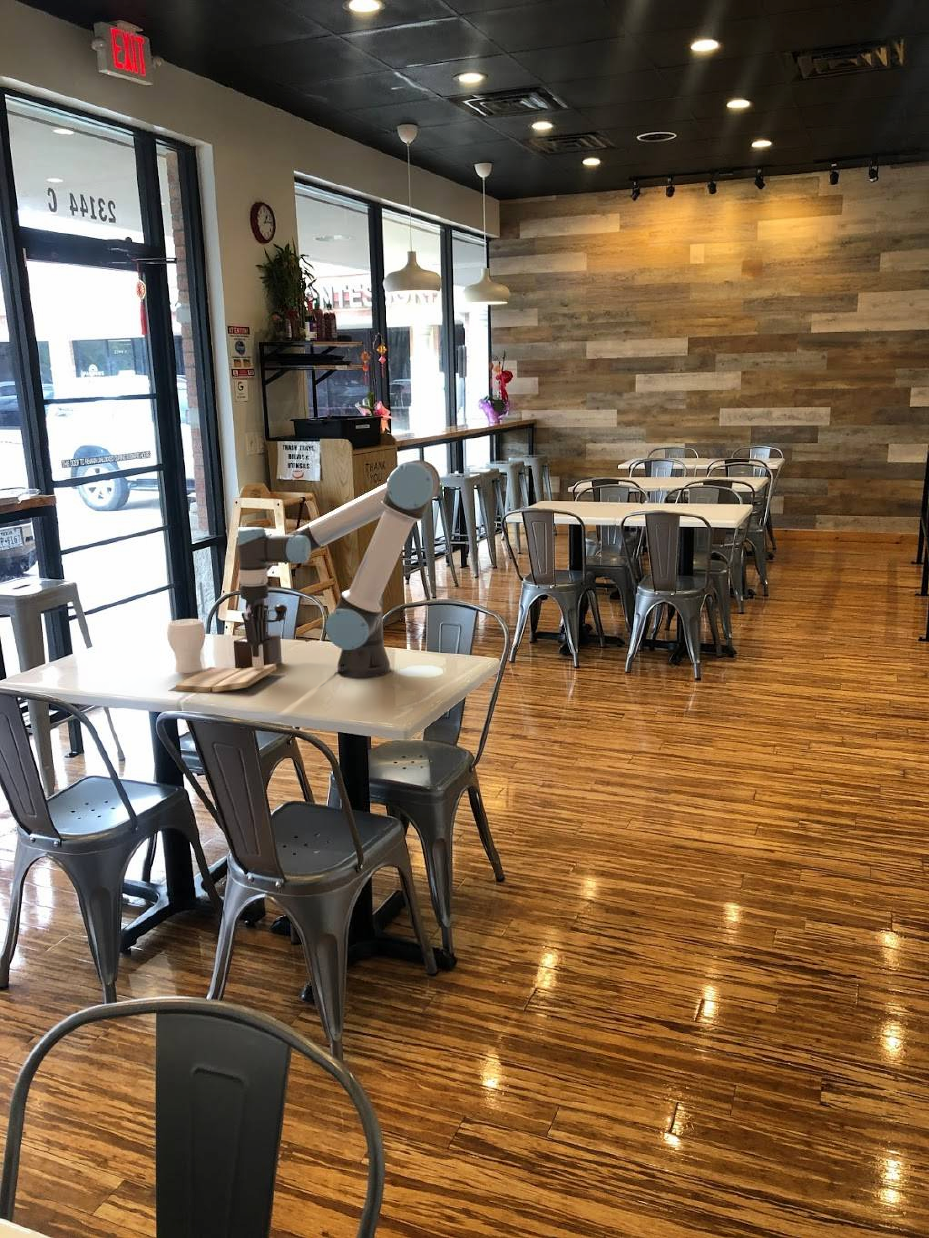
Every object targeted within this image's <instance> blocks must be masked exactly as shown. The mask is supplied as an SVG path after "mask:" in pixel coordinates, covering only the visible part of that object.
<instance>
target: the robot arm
mask: <svg viewBox="0 0 929 1238" xmlns="http://www.w3.org/2000/svg"><path fill="white" fill-rule="evenodd" d="M440 486H441V477H440V475H439V472H438V470H437V468H436V467H435V466H434V464H431V463H430V462H428V461H426V460H421V459H417V460H411V461H406V462H403V463H401V464H399V465H398V466H397V467H395V468H394V469H393V470H392V472H391V473H390V475H389V476H388V478H387V479H386V482H385V483H384V484H382V485H380V486H378V487H376V488H374V489H373V490H371V491H369V492H366V493H364V494H363V495H361V496H359V497H357V498H355V499H354V500H351V501H349V502H347V503H345V504H343V505H342V506H340V507H338V508H335V509H334V510H333V511H330V512H328V513H327V514H323V516H321V517H319V518H316V519H315V520H313V521H311V522H310V523H307V524H305V525H303V526H301V527H299V528H297V529H295V530H293V531H291V532H289V533H286V534H281V535H276V534H275V535H274V534H267V533H266V529H265V528H264V527H261V526H260V527H258V526H247V527H243V528H239V530H237V545H236V546H237V555H238V556H237V557H238V570H239V571H238V573H237V574H238V575H239V583H240V586H239V591H240V592H239V593H240V598H241V599H242V600H245V611H244V612H243V611H242V612H241V618H242V620H243V625H244V631H245V636H246V638H247V644H248V645H251V646H252V664H253V668H263V667H264V659H263V644H266V641H264V640H266V632H268V631H267V629H268V627H267V626H268V622H267V620H268V611H269V604H265V600H264V599H267V598H268V597H269V585H268V581H269V580H268V563H269V564H271V563H272V564H273V563H276V564H277V563H278V564H279V563H281V564H282V563H283V564H295V565H297V564H302V563H305V564H306V563H307V562H308V561H309V560H310V557H311V554H312V553H313V552H315V551H317V550H318V549H321V548H322V547H324V546H326V545H328V544H330V543H332V542H334V541H336V540H338V539H340V538H342V537H343V536H346V535H348V534H349V533H352V532H354V531H356V530H358V529H359V528H362V527H363V526H366V525H367V524H369V523H371V522H373V521H375V520H378V519H379V518H380V519H379V521H378V523H377V526H376V528H375V530H374V533H373V535H372V538H371V540H370V542H369V545H368V547H367V549H366V551H365V553H364V555H363V558H362V560H361V563H360V564H359V567H358V570H357V572H356V574H355V576H354V579H353V581H352V583H351V586H350V588H348V589H347V590H344V591H342V593H341V595H340V596H339V598H338V601H337V602H336V603H337V604H336V606H335V608H334V610H333V611H332V612H331V613H330V615H328V618H327V620H326V624H325V631H326V636H327V638H328V639H329V641H330V642H331V643H332V644H333V645H334V646H335V647H337V648H339V649H340V650H341V651H340V655H339V658H338V662H337V667H336V668H337V673H338V674H339V675H340V676H343V677H348V678H373V677H378V676H383V675H387V674H388V673H389V672H390V671H391V663H390V662H391V661H390V659H389V657H388V654H387V652H386V649H385V646H384V626H383V623H384V621H383V605H384V603H383V600H382V598H383V597H382V595H383V593H384V591H385V588H386V587H387V585H388V582H389V580H390V578H391V575H392V572H393V571H394V569H395V566H396V564H397V562H398V560H399V558H400V555H401V552H402V550H403V548H404V546H405V544H406V541H407V539H408V537H409V534H410V532H411V530H412V528H413V526H414V524H415V523H416V522H419V521H422V519H423V517H424V515H425V513H426V511H427V509H428V506H429V504H430V502H431V500H432V499H433V498H435V496H436V495H437V493H438V492H439V489H440ZM262 643H263V644H262Z"/></svg>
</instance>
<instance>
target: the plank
mask: <svg viewBox="0 0 929 1238" xmlns="http://www.w3.org/2000/svg"><path fill="white" fill-rule="evenodd" d="M277 669H278V667H276V664H270V665H264V667H263V668H253V667H250V668H244V669H242V670H240V671H239V672H237V673H235V674H233V675H232V676H230V677H228V678H226V679H225V680H223V681H221V682H219V683H218V684H216V685H214V686H212V690H213V692H219V691H225V690H232V689H239V688H246V687H248V686H250V685H251V684H253V683H255V682H256V681H258V680H259V679H261V678H263V677H264V676H266V675H267V674H271V673H273V671H275V670H277Z"/></svg>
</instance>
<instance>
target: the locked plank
mask: <svg viewBox="0 0 929 1238" xmlns="http://www.w3.org/2000/svg"><path fill="white" fill-rule="evenodd" d="M240 670H242V669H241V668H235V667H234V668H233V667H217V666H216V667H215V666H209V667H208V668H206V669H204V670H201V671H200V672H198V673H196V674H194V675H192V676H191V677H188V678H187V679H185V680H183V681H181V682H180V683H178V684H176V685H175V687H176V691H175V692H179V691H193V692H192V693H198V692H212V691H213V690H212V686H214V685H216V684H218V683H219V682H221V681H223V680H225V679H226V678H228V677H230V676H232V675H233V674H235V673H237V672H239V671H240Z"/></svg>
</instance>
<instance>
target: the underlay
mask: <svg viewBox="0 0 929 1238" xmlns="http://www.w3.org/2000/svg"><path fill="white" fill-rule="evenodd" d="M285 676H286V674H271V673H269V674H267V675H266V676H264V677H263V678H261V679H259V680H258V681H256V682H255V683H253V684H251V685H250V686H248V687H246V688H239V689H232V690H225V691H219V692H213V691H212V692H197V693H203V694H217V695H218V694H222V695H223V694H224V695H236V696H237V695H241V696H242V695H243V696H256V695H258V693H260V692H262V691H264V690H265V689H266V688H268V687H270V686H271V685H273V684H274V683H276V682H278V681H279V680H280V679H282V678H284V677H285ZM167 691H168V692H177V691H176V686H174V687H172V688H170V689H168V690H167ZM178 692H181V693H194V692H193V691H178Z"/></svg>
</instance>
